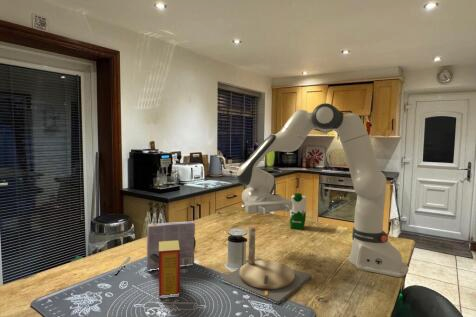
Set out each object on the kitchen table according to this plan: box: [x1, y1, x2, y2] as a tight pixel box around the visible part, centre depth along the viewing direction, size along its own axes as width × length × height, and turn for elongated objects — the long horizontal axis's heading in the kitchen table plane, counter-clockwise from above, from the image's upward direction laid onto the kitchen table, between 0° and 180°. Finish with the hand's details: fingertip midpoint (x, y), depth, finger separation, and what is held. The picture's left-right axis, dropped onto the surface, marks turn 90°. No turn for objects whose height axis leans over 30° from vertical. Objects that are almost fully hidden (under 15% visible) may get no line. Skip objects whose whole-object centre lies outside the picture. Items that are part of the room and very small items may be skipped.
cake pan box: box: [146, 220, 197, 271], centre depth 123 cm, size 19×5×18 cm, turn 111°
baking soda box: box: [158, 240, 181, 296], centre depth 104 cm, size 10×6×16 cm
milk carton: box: [289, 192, 307, 231], centre depth 177 cm, size 9×9×20 cm
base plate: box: [220, 257, 312, 303], centre depth 114 cm, size 24×24×1 cm
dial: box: [240, 226, 295, 289], centre depth 113 cm, size 20×20×16 cm
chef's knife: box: [120, 256, 132, 267], centre depth 125 cm, size 19×1×3 cm
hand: (277, 210), depth 121 cm, fingers open, 8 cm apart
